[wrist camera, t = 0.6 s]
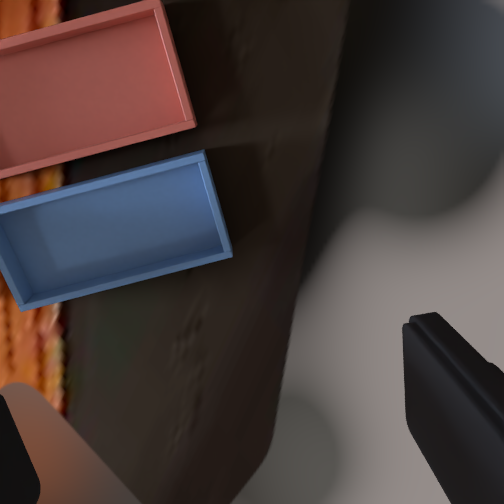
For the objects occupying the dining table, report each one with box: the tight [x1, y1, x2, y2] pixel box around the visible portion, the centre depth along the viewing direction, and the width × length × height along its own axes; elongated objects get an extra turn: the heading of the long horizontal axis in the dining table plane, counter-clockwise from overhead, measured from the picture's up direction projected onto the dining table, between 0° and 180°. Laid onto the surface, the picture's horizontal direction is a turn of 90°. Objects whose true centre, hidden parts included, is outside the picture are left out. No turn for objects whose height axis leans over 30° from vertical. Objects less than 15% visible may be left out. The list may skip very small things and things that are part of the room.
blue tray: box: [0, 149, 233, 312], centre depth 35 cm, size 9×18×2 cm, turn 104°
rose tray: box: [0, 0, 197, 179], centre depth 32 cm, size 9×18×2 cm, turn 104°
